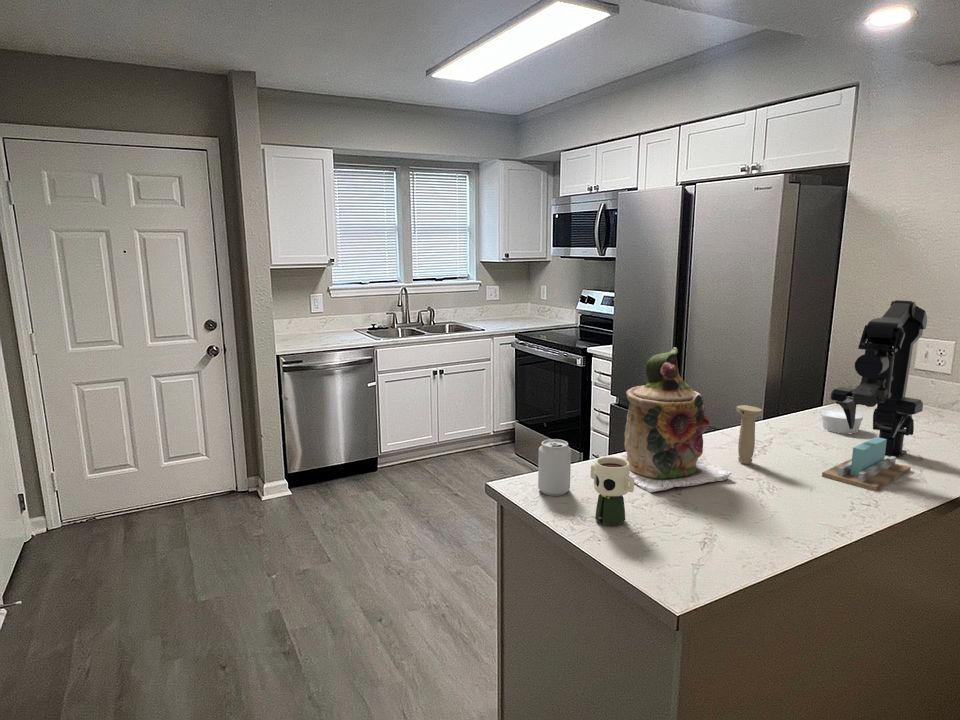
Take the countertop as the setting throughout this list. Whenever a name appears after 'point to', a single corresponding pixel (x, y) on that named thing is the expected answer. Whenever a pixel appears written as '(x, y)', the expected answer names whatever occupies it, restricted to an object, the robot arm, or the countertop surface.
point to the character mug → (611, 488)
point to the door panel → (867, 455)
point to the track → (868, 474)
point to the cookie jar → (666, 430)
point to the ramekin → (839, 421)
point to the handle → (747, 432)
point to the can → (554, 467)
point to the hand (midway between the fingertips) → (871, 433)
